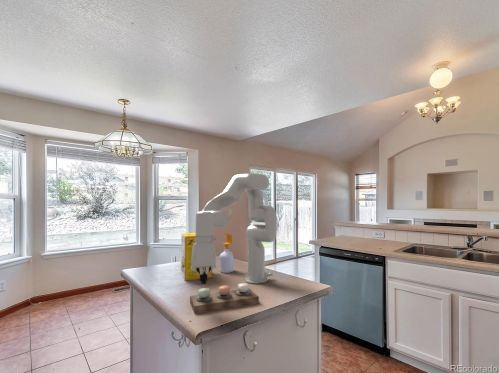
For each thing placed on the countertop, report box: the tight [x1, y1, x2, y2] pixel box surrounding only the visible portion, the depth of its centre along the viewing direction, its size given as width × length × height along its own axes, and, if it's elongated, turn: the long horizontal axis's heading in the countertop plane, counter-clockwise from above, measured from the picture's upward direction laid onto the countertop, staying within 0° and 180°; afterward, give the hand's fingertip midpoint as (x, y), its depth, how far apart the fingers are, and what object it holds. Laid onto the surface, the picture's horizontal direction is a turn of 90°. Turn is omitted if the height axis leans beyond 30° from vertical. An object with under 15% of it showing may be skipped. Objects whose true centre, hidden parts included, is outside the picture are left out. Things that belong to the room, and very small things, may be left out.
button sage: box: [197, 287, 210, 298], centre depth 111 cm, size 5×5×2 cm
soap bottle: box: [219, 232, 235, 274], centre depth 168 cm, size 9×9×25 cm
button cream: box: [237, 282, 250, 292], centre depth 118 cm, size 5×5×2 cm
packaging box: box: [180, 232, 213, 281], centre depth 159 cm, size 16×16×25 cm
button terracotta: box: [218, 285, 231, 295], centre depth 114 cm, size 5×5×2 cm
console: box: [189, 288, 260, 315], centre depth 114 cm, size 28×12×4 cm, turn 111°
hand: (203, 283), depth 111 cm, fingers closed
